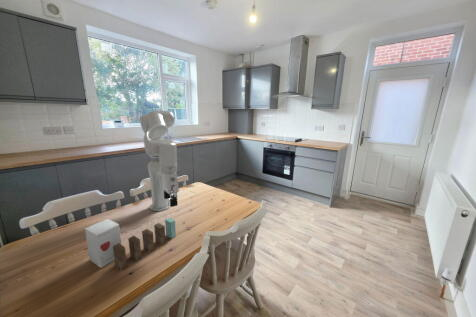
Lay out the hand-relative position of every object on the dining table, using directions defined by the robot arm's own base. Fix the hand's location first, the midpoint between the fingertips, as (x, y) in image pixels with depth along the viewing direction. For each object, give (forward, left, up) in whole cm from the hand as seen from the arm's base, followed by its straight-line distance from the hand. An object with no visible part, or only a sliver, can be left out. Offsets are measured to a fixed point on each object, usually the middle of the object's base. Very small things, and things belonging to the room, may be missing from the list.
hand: (170, 202), depth 93 cm
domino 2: (+19, 0, -18) cm, 26 cm away
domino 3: (+13, 0, -18) cm, 22 cm away
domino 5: (+1, 0, -18) cm, 18 cm away
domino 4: (+7, 0, -18) cm, 20 cm away
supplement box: (+26, -10, -18) cm, 33 cm away
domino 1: (+25, 0, -18) cm, 31 cm away
